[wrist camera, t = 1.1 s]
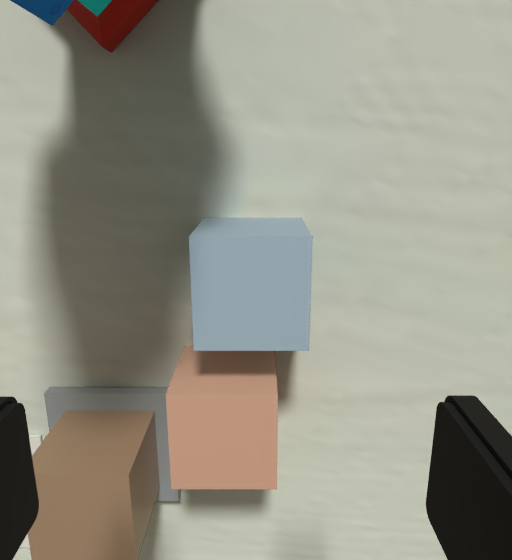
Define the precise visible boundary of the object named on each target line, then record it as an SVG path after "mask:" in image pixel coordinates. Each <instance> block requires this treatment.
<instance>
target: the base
mask: <svg viewBox="0 0 512 560" xmlns="http://www.w3.org/2000/svg"><path fill="white" fill-rule="evenodd" d="M167 390H168V387H50V388H49V389H48V390H47V391H46V392H45V393H44V395H45V402H46V410H47V417H48V424H49V431H50V432H49V434H48V435H47V436H46V438H45V439H44V440H43V442H42V443H41V444H40V446H39V447H38V448H37V450H36V451H35V453H34V454H33V455H32V460H33V466H34V473H35V479H36V486H37V492H38V499H39V510H38V515H37V518H36V520H35V522H34V524H33V525H32V527H31V529H30V530H29V532H28V539H29V545H30V551H31V557H32V560H138V558H139V554H140V551H141V547H142V544H143V541H144V537H145V534H146V531H147V527H148V524H149V520H150V517H151V514H152V510H153V507H154V504H155V501H179V498H180V494H181V489H171V474H170V458H169V442H168V425H167V409H166V393H167Z"/></svg>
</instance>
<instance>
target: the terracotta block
mask: <svg viewBox="0 0 512 560" xmlns="http://www.w3.org/2000/svg"><path fill="white" fill-rule="evenodd" d="M166 409H167V425H168V442H169V458H170V474H171V489H277V428H278V390H277V377H276V364H275V351H194V349H193V346H184V348H183V351H182V353H181V356H180V358H179V361H178V364H177V366H176V369H175V372H174V374H173V377H172V379H171V382H170V385H169V387H168V390H167V393H166Z"/></svg>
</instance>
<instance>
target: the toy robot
mask: <svg viewBox="0 0 512 560" xmlns="http://www.w3.org/2000/svg"><path fill="white" fill-rule="evenodd" d="M11 1H12V2H14V3H16V4H17V5H19V6H21V7H22V8H24V9H26V10H27V11H29V12H31V13H32V14H34V15H36V16H37V17H39V18H41V19H42V20H44V21H46V22H47V23H49V24H51V25H53V24H54V23H55V22H56V21H57V20H58V18H59V17H60V16H61V15H62V14H63V13H64V11H65V10H66V9H67V10H68V11H69V12H70V13H71V14H72V15H73V16H74V17H75V18H76V19H77V20H78V21H79V22H80V23H81V25H82V26H83V27H84V28H85V29H86V30H87V31H88V32H89V33H90V34H91V35H92V36H93V37H94V38H95V39H96V41H97V42H98V43H99V44H100V45H101V46H102V47H104V48H105V49H107V50H108V51H110V52H113V51H114V49H115V48H116V47H117V46H118V45H119V44H120V43H121V42H122V40H123V39H124V38H125V37H126V36H127V35H128V34H129V33H130V31H131V30H132V29H133V28H134V27H135V26H136V25H137V24H138V23H139V21H140V20H141V19H142V18H143V17H144V16H145V15H146V14H147V12H148V11H149V10H150V9H151V8H152V7H153V6H154V5H155V4H156V2H157V1H158V0H11Z"/></svg>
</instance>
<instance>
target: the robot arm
mask: <svg viewBox="0 0 512 560" xmlns="http://www.w3.org/2000/svg"><path fill="white" fill-rule="evenodd" d="M426 509H427V514H428V518H429V521H430V523H431V525H432V527H433V529H434V531H435V533H436V536H437V538H438V540H439V542H440V544H441V546H442V548H443V550H444V553H445V555H446V557H447V559H448V560H512V436H511V435H510V434H509V433H508V432H507V431H506V429H505V428H504V427H503V426H502V425H501V424H500V423H499V422H498V420H497V419H496V418H495V417H494V416H493V415H492V414H491V413H490V412H489V410H488V409H487V408H486V407H485V406H484V405H483V404H482V403H481V401H480V400H479V399H478V398H477V397H475V396H447V397H446V399H445V402H440V403H439V404H438V406H437V411H436V420H435V429H434V437H433V446H432V455H431V463H430V472H429V481H428V489H427V498H426ZM38 510H39V499H38V492H37V486H36V479H35V473H34V466H33V460H32V453H31V447H30V440H29V434H28V427H27V421H26V414H25V409H24V406H23V404H21V403H17V401H16V399H15V398H14V397H0V560H12V559H13V557H14V556H15V554H16V552H17V551H18V549H19V547H20V546H21V544H22V542H23V540H24V539H25V537H26V535H27V534H28V532H29V530H30V529H31V527H32V525H33V524H34V522H35V520H36V518H37V515H38Z"/></svg>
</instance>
